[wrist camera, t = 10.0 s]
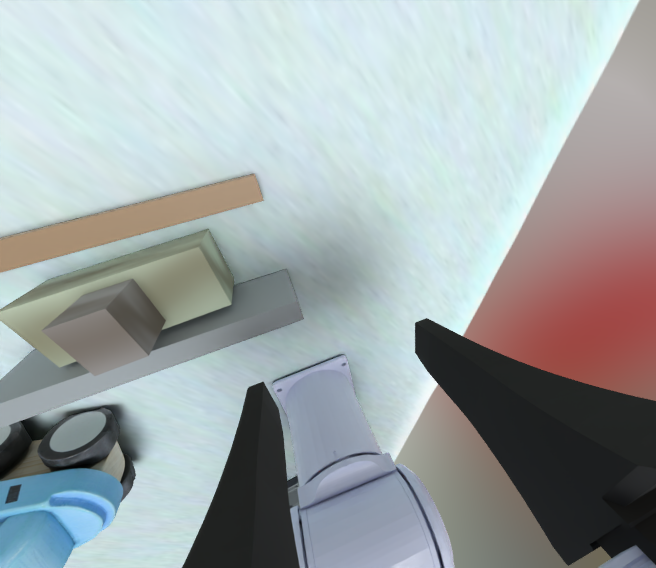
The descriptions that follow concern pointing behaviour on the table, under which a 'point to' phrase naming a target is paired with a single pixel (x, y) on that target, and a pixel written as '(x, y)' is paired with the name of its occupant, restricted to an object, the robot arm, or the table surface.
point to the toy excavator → (59, 488)
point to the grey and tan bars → (172, 343)
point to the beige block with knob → (122, 303)
